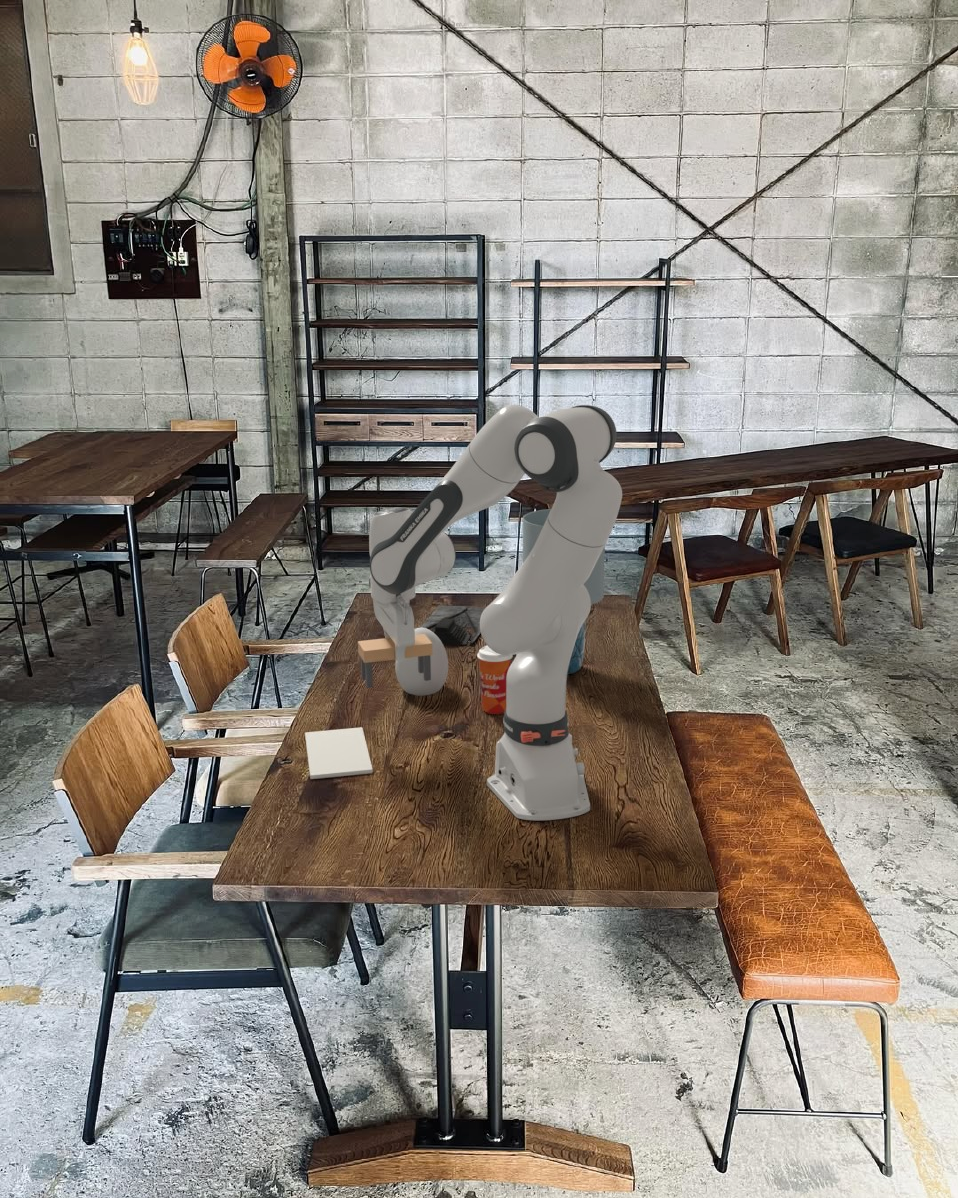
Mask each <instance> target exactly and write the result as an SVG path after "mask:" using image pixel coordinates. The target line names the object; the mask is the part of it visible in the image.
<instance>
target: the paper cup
mask: <svg viewBox="0 0 958 1198" xmlns="http://www.w3.org/2000/svg"><path fill="white" fill-rule="evenodd" d="M476 656H477V658H478V667H479V683H480V695H481V707H482V711H483V710H484V711H485V712H484V711H483V712H484V713H486V712H487V713H486V714H490V715H499V714H504V712H505V710H506V677H507V672H508V669H509V667H510V665H511V664H512V663H511V662H512V661H511V660H512V658H513V655H501V654H498V653H496V652H494V651H493V650H491V649H490V648H489V647H488V645H487V644H486V645H484V646H483V647H481V648H480V649H479V650H478V653H477V655H476Z"/></svg>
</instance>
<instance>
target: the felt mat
mask: <svg viewBox="0 0 958 1198" xmlns="http://www.w3.org/2000/svg"><path fill="white" fill-rule="evenodd" d="M304 737H305V745H306V746H305V747H306V753H307V762H308V770H309V777H310V778H309V779H310V780H315V779H317V780H318V779H325V778H326V779H327V778H338V777H344V776H345V777H346V776H355V775H357V776H358V775H367V774H368V775H369V774H373V772H374V769H373V766H372V762H371V757H370V753H369V749H368V745H367V742H366V738H365V733H364V729H363V727H362V726H361V727H353V728H351V727H350V728H340V729H329V730H319V731H318V730H317V731H316V730H315V731H308V732H304Z"/></svg>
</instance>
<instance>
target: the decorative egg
mask: <svg viewBox="0 0 958 1198" xmlns="http://www.w3.org/2000/svg"><path fill="white" fill-rule="evenodd" d="M431 630H432V629H427V628H420V627H416V628H415V635H419V634H425V635H426V636H427V637H428V639H429V640H430V641H431V642H432V651H433V655H430V660H431V680H428V681H425V680H424V673H419V672H418V657H411V658H405V659H404V660H402V661H397V660H396V659H395V664H394V668H395V674H396V679H397V681H398V683H399V686H400V687H401V688H402V690H403V691H405V692H406V693H407V694H409V695H412V694H413V695H412V696H420V697H421V696H430V695H433V694H436V693H437V692H439V691H440V690H441V689H442V688H443V686H444V685H445V683H446V680H447V677H448V674H449V658H448V654H447V650H446V648H445V646H444V644H442V642H441V640H440V639H439V638H438V637H437V636H436V634H434V633H433V632H432V631H431Z"/></svg>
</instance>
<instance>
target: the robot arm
mask: <svg viewBox="0 0 958 1198" xmlns="http://www.w3.org/2000/svg"><path fill="white" fill-rule="evenodd" d="M617 434H618V433H617V427H616V424H615V422H614V420H613V418H612V417H611V415H610V414H609V413H608V412H607V411H606V410H604V409H603V408H601V407H598V406H595V405H589V404H581V405H575V406H572V407H569V408H562V409H558V410H555V411H551V412H549V413H547V414H545V415H543V416H538V415H537V414H536V413H535V412H534V411H532V410H530V409H529V408H527V407H525V406H523V405H519V404H509V405H505V406H503V407H502V408H500V409H499V410H498V411H497V412H496V413H494V415H493V416H492V417H491V418H489V420H488V421H486V423H485V424H484V425H483V426H482V427H481V428H480V430H479V431H478V432H477V434H476V435H474V437H473V438H472V440H471V442H469V444H468V445H467V447H466V448H465V449H464V451H463V452H462V453H461V455H460V456H459V458H458V459H457V460H456V461H455V463H454V464H453V465H452V466H451V468H450V469H449V471H448V472H447V473H446V474H445V475H444V477H443V478H442V479H441V480H440V481H439V482H438V483H437V485H436V486H434V488H433V489H432V490H431V491H430V492H429V493H428V494H427V496H426V497H424V499H423V500H422V501H421V502H420V504H419V505H417V507H416V508H415V509H414V511H412V510H411V509H409V508H407V507H404V506H403V507H398V506H397V507H392V508H386V509H381V510H379V511H377V512H375V513H374V514H373V515H372V516H371V519H370V523H369V524H370V525H369V531H368V532H369V536H368V540H369V541H368V544H369V545H368V547H369V548H368V549H369V570H370V571H369V573H370V574H369V575H370V576H369V577H368V586H369V588H370V597H371V599H372V604H373V611H374V615H375V618H376V620H377V621H378V622H379V624H380V625H381V626H382V629H383V632H384V637H385V638H391V639H392V640H393V641H394V643H395V650H394V657H395V659H394V660H395V661H396V660H397V661H402V660H404V659H405V649H406V647H408V646H413V645H414V643H415V629H416V628H415V618H414V613H413V609H412V607H411V606H410V600H413V599H414V598H415V597H416V587H417V586H420V585H423V584H425V583H429V582H430V581H433V580H437V579H439V578H441V577H443V576H445V575H447V574H449V573H450V572H451V571H452V570H453V568H454V566H455V563H456V558H457V555H456V553H457V551H456V547H455V544H454V542H453V540H452V539H451V537H450V536H449V535H448V534H447V532H445V531H446V530H447V529H448V528H449V527H450V526H452V525H453V524H455V523H457V522H458V521H460V520H462V519H465V518H466V517H469V516H471V515H473V514H476V513H478V512H480V511H482V510H486V509H488V508H491V507H493V506H495V505H496V504H499V502H501V501H502V500H503V499H504V498H506V496H508V495H509V494H510V493H511V492H512V491H513V490H514V489H515V487H516V486H517V485H518V484H519V482H520V481H521V480H522V478H524V476H525V475H526V476H527V477H529V478H530V479H531V480H532V481H534V482H536V483H538V484H539V485H540V486H541V487H542V489H544V491H547V492H548V493H556V497H555V500H554V502H553V505H552V507H551V508H550V509H551V511H550V513H549V515H548V517H547V519H546V522H545V524H544V526H543V528H542V530H541V532H540V535H539V537H538V539H537V541H536V543H535V545H534V547H533V549H532V551H531V552H530V554H529V556H528V557H527V558H526V560H525V561H524V563H523V562H522V564H521V566H519V568H518V570H516V572H515V573H514V575H513V576H512V577H511V579H510V580H509V582H508V583H507V584H506V586H505V587H504V588H503V589H502V591H500V593H499V594H498V595H497V596H496V598H495V599H493V600H492V601H491V602H490V604H488V605H487V606H486V607H484V608H485V609H484V611H483V612H482V615H481V618H480V631H481V633H480V634H481V636H482V639H483V641H484V643H485V644H486V646H487V645H488V647H489V648H490V649H491V650H493V651H494V652H496V653H498V654H501V655H512V656H513V655H516V656H515V657H514V659H513V660H512V661H511V662H512V663H510V667H509V669H508V672H507V677H506V710H505V712H504V713H503V714H504V715H503V718H502V719H503V720H502V721H503V722H502V723H503V730H504V733H503V734H502V736H501V737H500V739H499V740H497V742H496V743H495V744H496V745H495V746H496V747H495V760H494V761H495V762H494V763H495V764H494V774H493V775H491V776H489V777H488V778H487V779H486V786H487V787H488V789H489V790H491V791H492V793H493V794H494V795H495V796H496V797H497V798H498V799H499V800H500V801H501V802H502V803H503V804H504V806H505V807H506V808H507V809H508V810H509V811H510V812H511V814H513V815H514V816H515V817H516V819H521V820H523V821H524V820H526V821H554V820H563V819H569V818H574V817H578V816H581V815H583V814H586V813H588V812H589V811H591V803H590V799H589V798H590V797H589V794H588V789H587V786H586V782H585V781H586V779H585V777H584V775H585V769H586V767H585V763H584V762H582V761H581V762H576V756H578V755H579V749H578V748H576V747H574V746H573V736H572V734H570V731H569V729H570V728H569V725H570V724H569V718H568V711H567V709H566V700H567V699H566V698H567V697H566V695H567V693H566V692H567V680H568V679H567V678H568V674H567V672H568V666H569V662H570V659H571V655H572V652H573V648H574V645H575V642H576V638H577V635H578V633H579V630H580V628H581V626H582V624H583V623H584V621H585V622H586V620H587V619H588V617H589V615H590V612H591V608H592V607H591V606H592V605H591V600H590V595H589V593H588V591H587V589H586V587H585V586H584V585H583V584H584V583H585V582H586V581H587V579H588V578H589V576H590V575H591V572H592V570H593V568H594V566H595V564H596V562H597V560H598V558H599V556H600V554H601V552H602V550H603V548H604V546H605V547H606V545H607V543H608V542H607V541H608V540H609V538H610V536H611V534H612V532H613V529H614V527H615V523H616V521H617V518H618V515H619V510H620V508H621V504H622V501H623V500H622V499H623V489H622V486H621V484H620V483H619V481H618V480H617V479H616V478H615V477H614V475H612V474H611V473H609V472H607V471H605V470H604V468H603V467H602V466H601V463H602V462H603V461H604V460H605V459H606V458H608V456H610V454H611V452H612V451H613V450H614V448H615V445H616V442H617ZM550 488H551V489H550Z"/></svg>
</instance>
